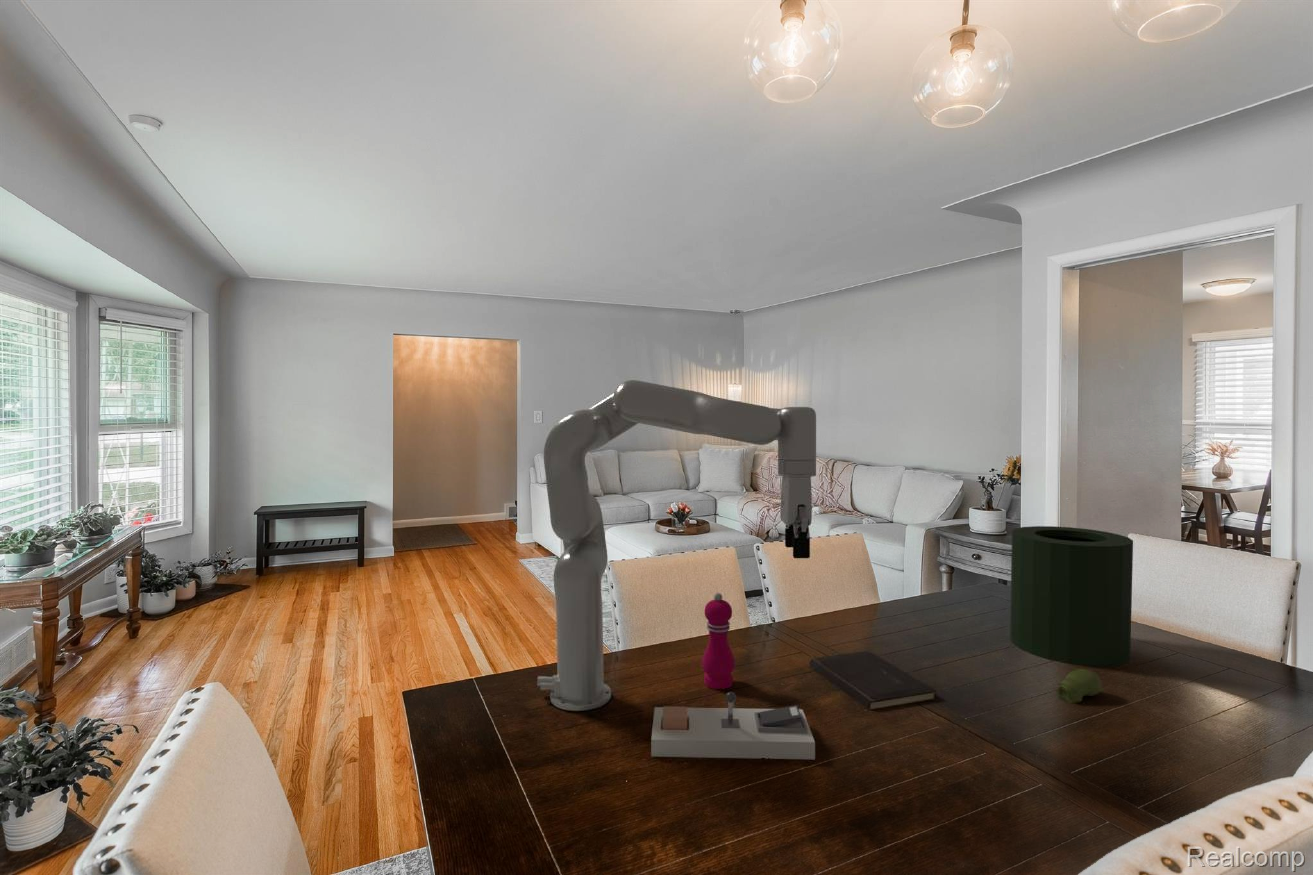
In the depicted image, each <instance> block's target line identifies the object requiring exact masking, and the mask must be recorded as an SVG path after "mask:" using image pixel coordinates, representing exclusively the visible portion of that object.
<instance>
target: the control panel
mask: <svg viewBox="0 0 1313 875" xmlns="http://www.w3.org/2000/svg"><path fill="white" fill-rule="evenodd" d="M773 709H774V708H739V707H738V708H735V707H734V708H733V723H731V724H730V723H728V707H687V730H663V723H662V717H663V706H662V707H660V706H658V707H657V706H654V711H653V713H654V714H653V721H652V729H651V738H650V740H651V742H650V744H651V746H650V749H651V750H650V751H651V752H650V753H651V756H650V757H659V758H662V757H665V758H667V757H668V758H709V759H710V758H712V759H713V758H714V759H725V758H726V759H761V758H765V759H768V758H769V760H770V759H771V760H772V759H773V760H777V759H778V760H782V759H783V760H816V742H815V738H814V737H813V732H812V730H811V728H810V726H809V723H808V720H807V717H806V715H805V712H804V710H803V709H801V708H798V709H799V712H800V715H801V718H802V722H799V723H794V724H789V725H784V726H778V727H763V726H762V722H761V717H760V713H759V712H763V711H768V710H773Z"/></svg>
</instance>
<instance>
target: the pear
mask: <svg viewBox="0 0 1313 875" xmlns="http://www.w3.org/2000/svg"><path fill="white" fill-rule="evenodd" d="M1102 687H1103V686H1102V680H1101V678H1100V676H1099V675H1098V674H1097V673H1096V672H1094V670H1091V669H1088V668H1078V669H1077V668H1076V669H1074V670H1072V671H1070V672H1069V673H1067V675H1066V676H1065V678H1064V679H1063V680H1061V681H1060V682H1059V686H1058V687H1057V688H1056V692H1057V696H1058V697H1059V698H1061V699H1062V700H1064V701H1066V702H1069V703H1071V704H1078V703H1080V702H1082V701H1083V697H1084V696H1087V697H1092V696H1096V695H1098V694H1099V693H1100V692H1101V690H1102Z"/></svg>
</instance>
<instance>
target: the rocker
mask: <svg viewBox="0 0 1313 875" xmlns="http://www.w3.org/2000/svg"><path fill="white" fill-rule="evenodd" d="M772 709H773V710H768V711H763V712H759V713H760V717H761V722H762V726H763V727H778V726H784V725H789V724H794V723H799V722H802V718H801V715H800V712H799V709H800V708H799V707H798V705H797V704H796V705H790V706H785V707H778V708H772Z"/></svg>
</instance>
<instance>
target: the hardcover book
mask: <svg viewBox="0 0 1313 875" xmlns="http://www.w3.org/2000/svg"><path fill="white" fill-rule="evenodd" d="M810 667H811V668H812V669H813V670H814V671H816V672H817V673H819V674H820V675H821V676H823V677H824V678H826V679H827V680H829V682H831V683H832V684H833V685H835V686H836V687H838V688H839V689H841V691H843V692H845V694H847V695H848V696H850V697H852V698H853V699H854V700H855V701H857V702H858V703H859V704H860V705H862V706H864V707H865V709H868V710H869V711H871V710H874V709H880V708H885V707H893V706H897V705H905V704H910V703H915V702H922V701H927V700H933V699H935V695H934V694H935V693H937V690H936V689H934V688H932V687H930V686H929V685H927V684H926V683H924V682H922V681H921V680H919V679H918V678H915V677H914V676H912V675H911V674H909V673H907V672H905V671H904V670H902V669H900V668H899V667H897V666H895V665H893V664H892V663H890V662H888V661H887V660H885V659H883V658H882V657H880V656H878V655H876V654H875V653H873V652H871V651H870V650H863V651H857V652H849V653H841V654H834V655H827V656H820V657H813V658H811V659H810V660H809V668H810Z"/></svg>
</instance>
